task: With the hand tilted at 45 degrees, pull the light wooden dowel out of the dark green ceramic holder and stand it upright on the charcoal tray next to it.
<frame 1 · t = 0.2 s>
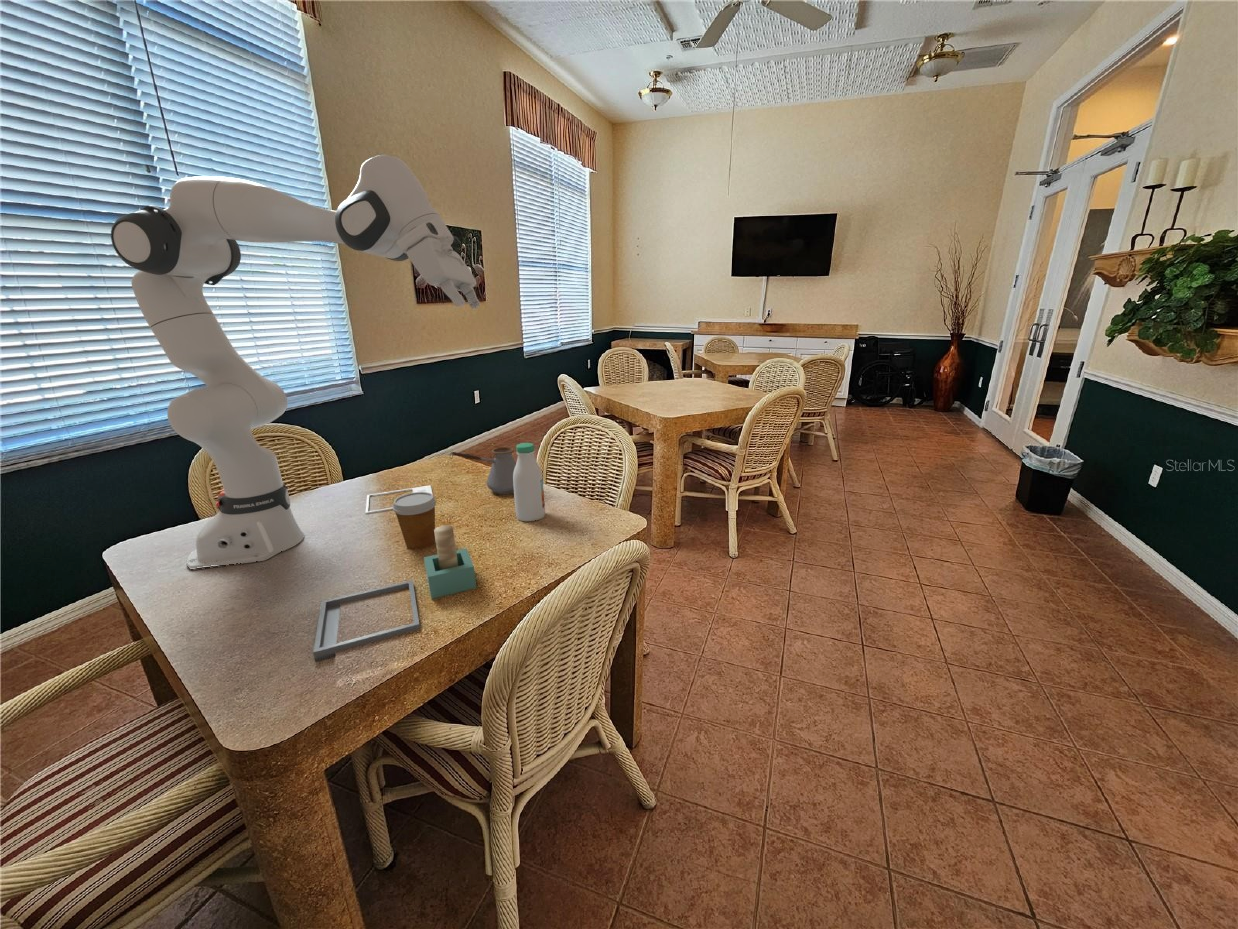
hand: (469, 306, 98), 54 cm above the table, tool tilted 30°, fingers open, 8 cm apart
photo frame: (400, 501, 145), on the table
wooden dowel: (451, 582, 100), point 1 cm above the table, touching ceramic holder
charcoal tray: (370, 620, 90), on the table
coffee pot: (491, 494, 149), on the table
ceramic holder: (451, 586, 100), on the table
milk bottle: (531, 517, 132), on the table
disposable coffee cup: (421, 546, 117), on the table
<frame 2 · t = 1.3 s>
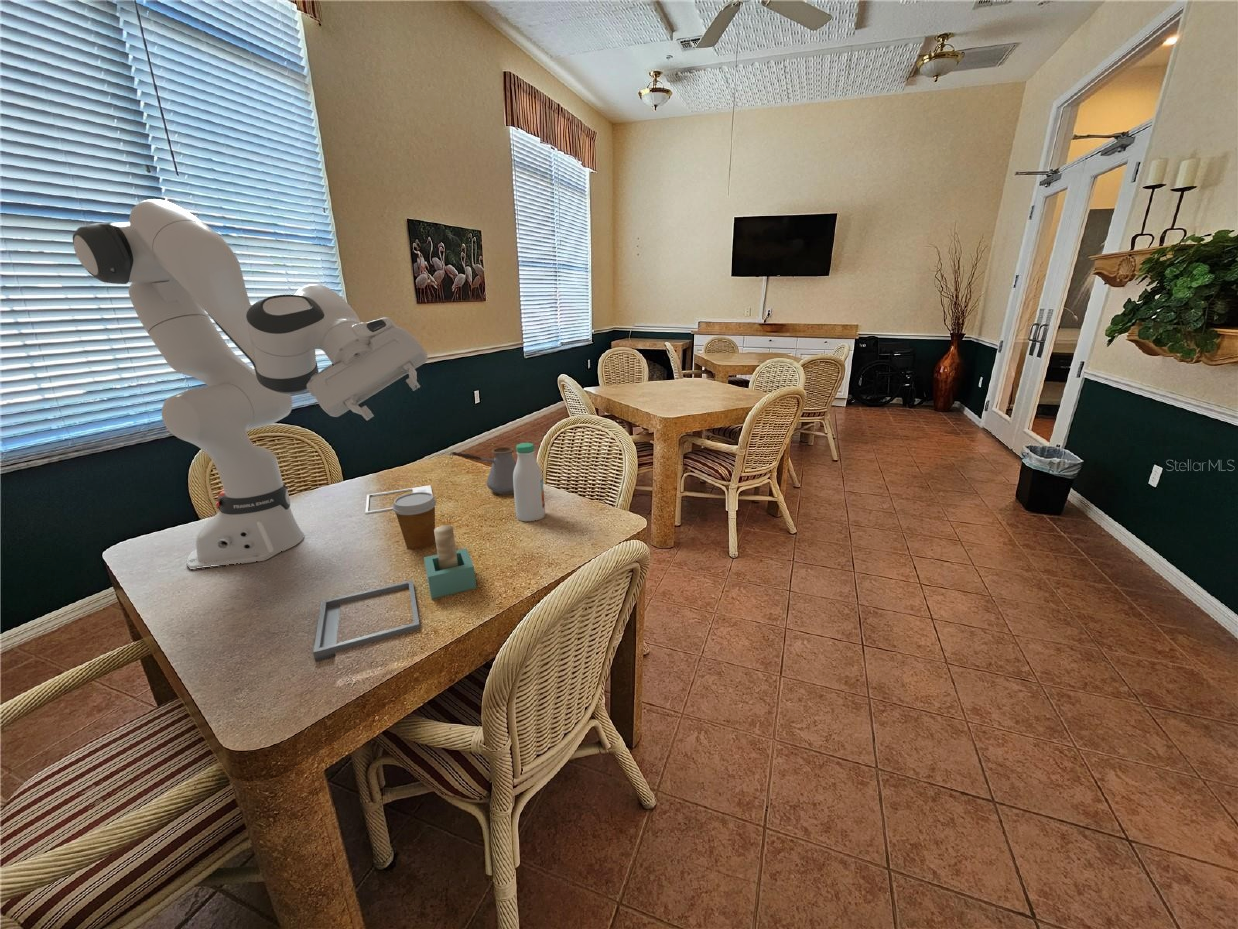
hand: (392, 401, 87), 38 cm above the table, tool tilted 55°, fingers open, 8 cm apart
nothing on the table moved.
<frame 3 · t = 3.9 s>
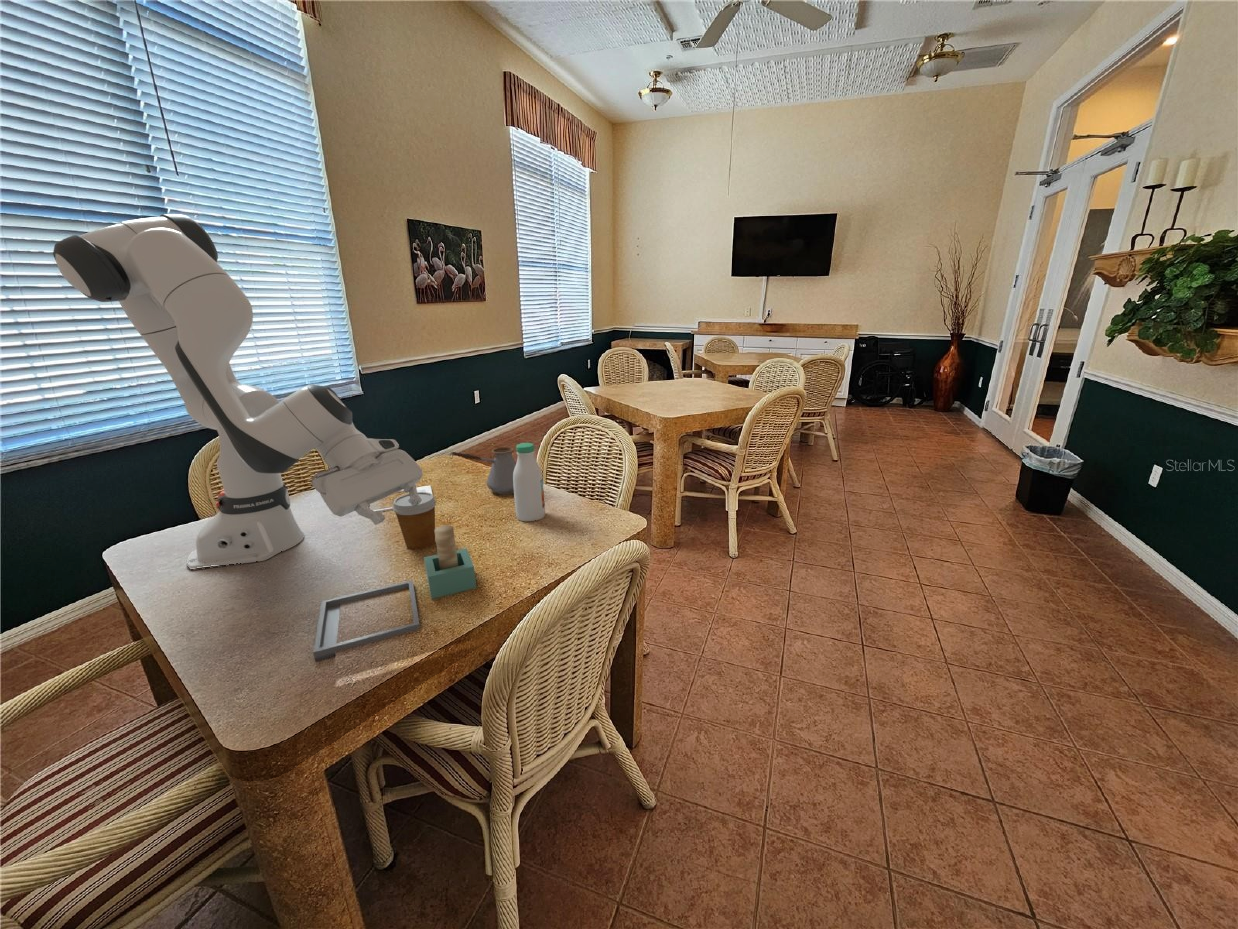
hand: (400, 512, 97), 16 cm above the table, tool tilted 45°, fingers open, 8 cm apart
nothing on the table moved.
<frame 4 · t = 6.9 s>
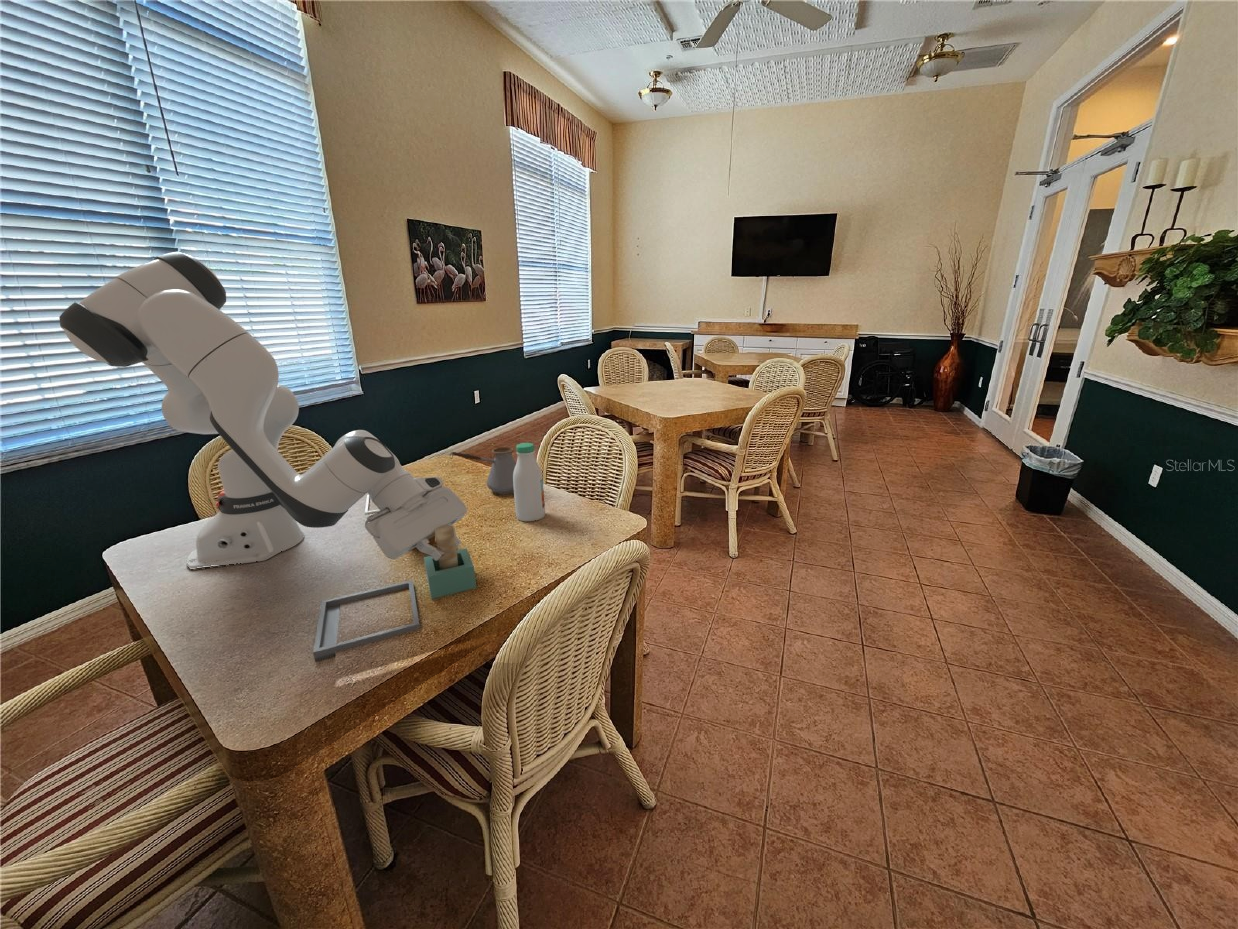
hand: (449, 551, 97), 8 cm above the table, tool tilted 45°, fingers closed on wooden dowel, 3 cm apart
wooden dowel: (451, 582, 100), point 1 cm above the table, touching ceramic holder, gripper
everything else where it was.
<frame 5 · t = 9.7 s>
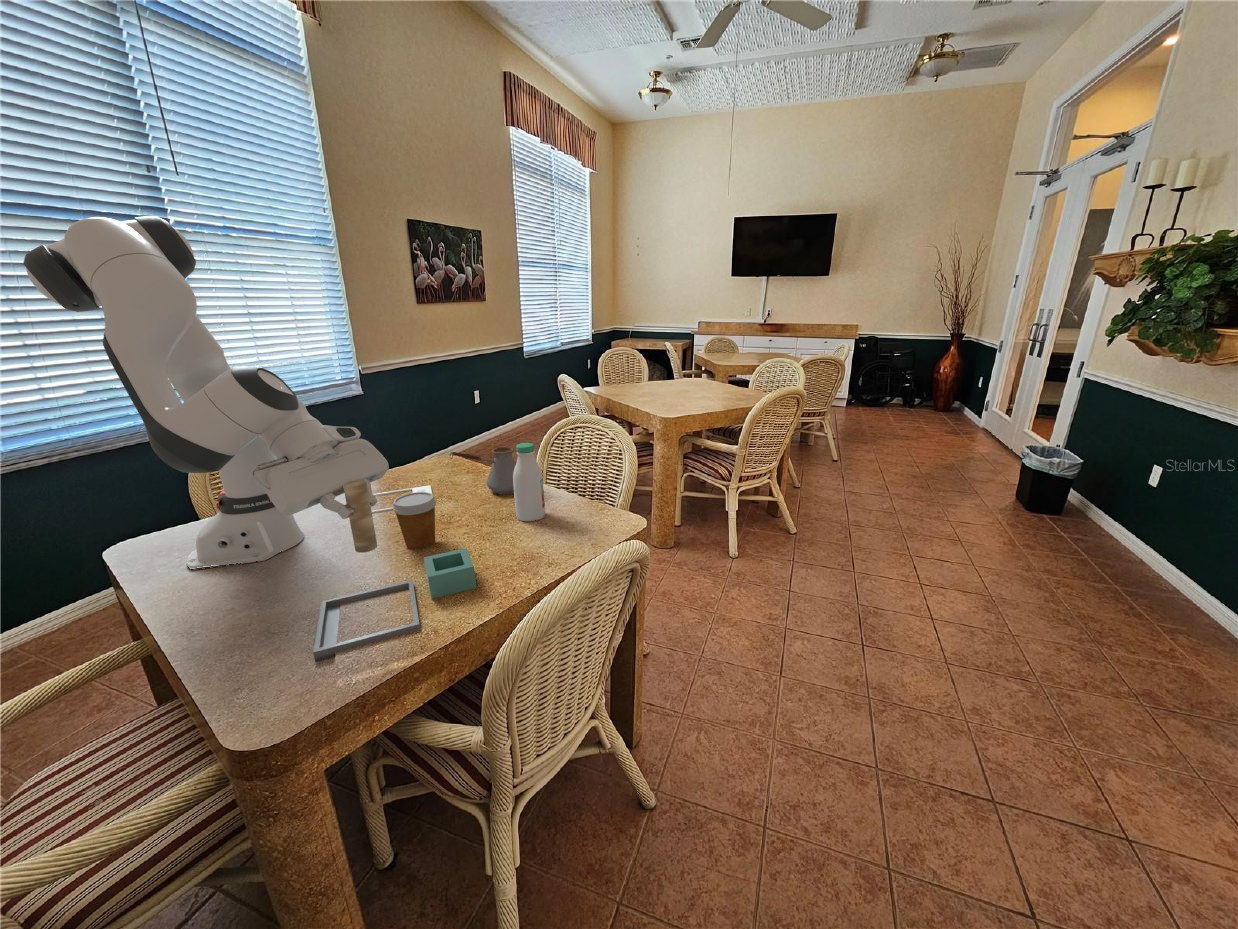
hand: (361, 510, 84), 21 cm above the table, tool tilted 45°, fingers closed on wooden dowel, 3 cm apart
wooden dowel: (366, 547, 86), point 14 cm above the table, touching gripper
everything else where it was.
when the fingers open (9 cm above the table, at t = 12.5 s): wooden dowel drops 1 cm, resting on charcoal tray.
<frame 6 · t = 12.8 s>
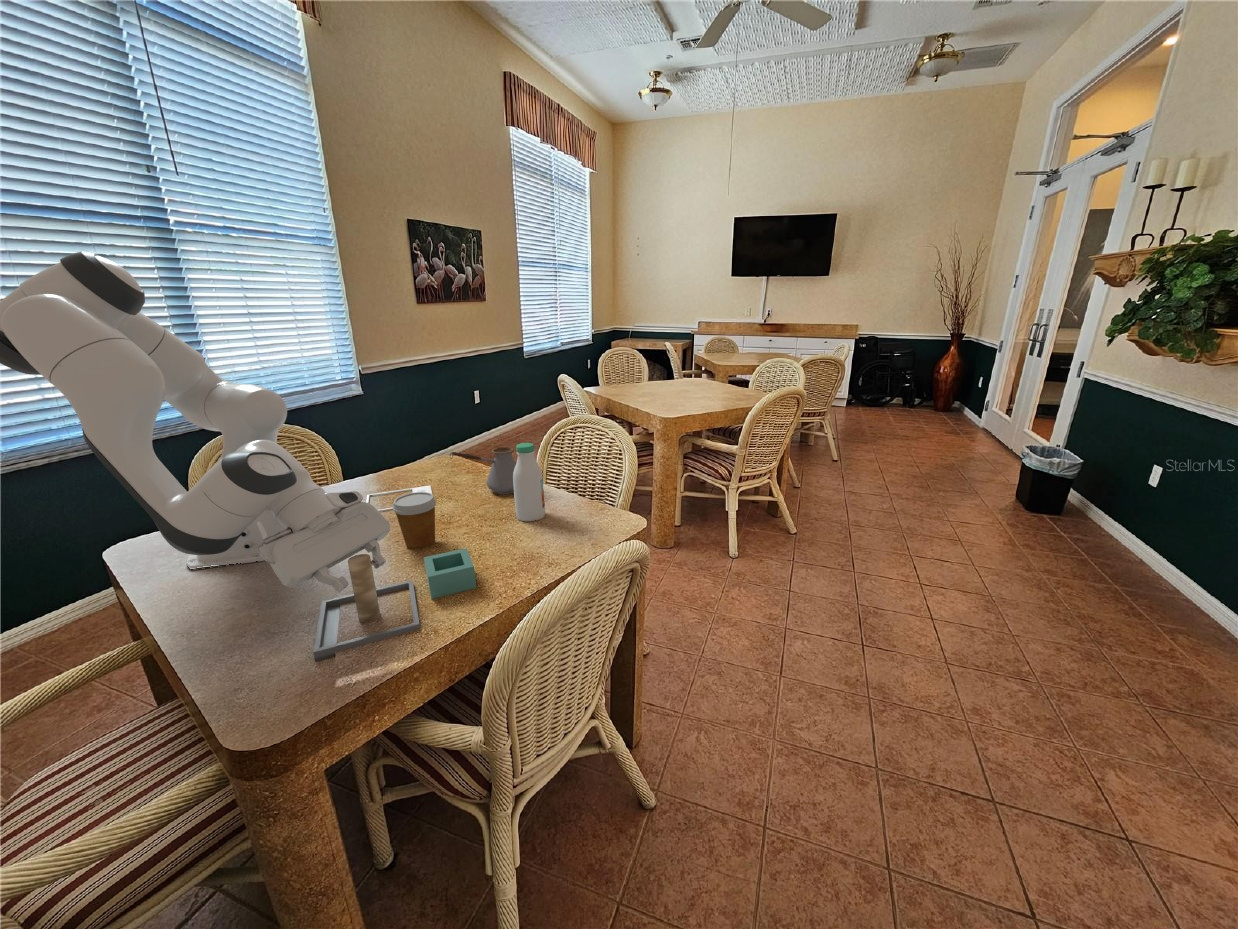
hand: (363, 576, 86), 9 cm above the table, tool tilted 45°, fingers open, 7 cm apart
wooden dowel: (369, 617, 89), point 1 cm above the table, touching charcoal tray
everything else where it was.
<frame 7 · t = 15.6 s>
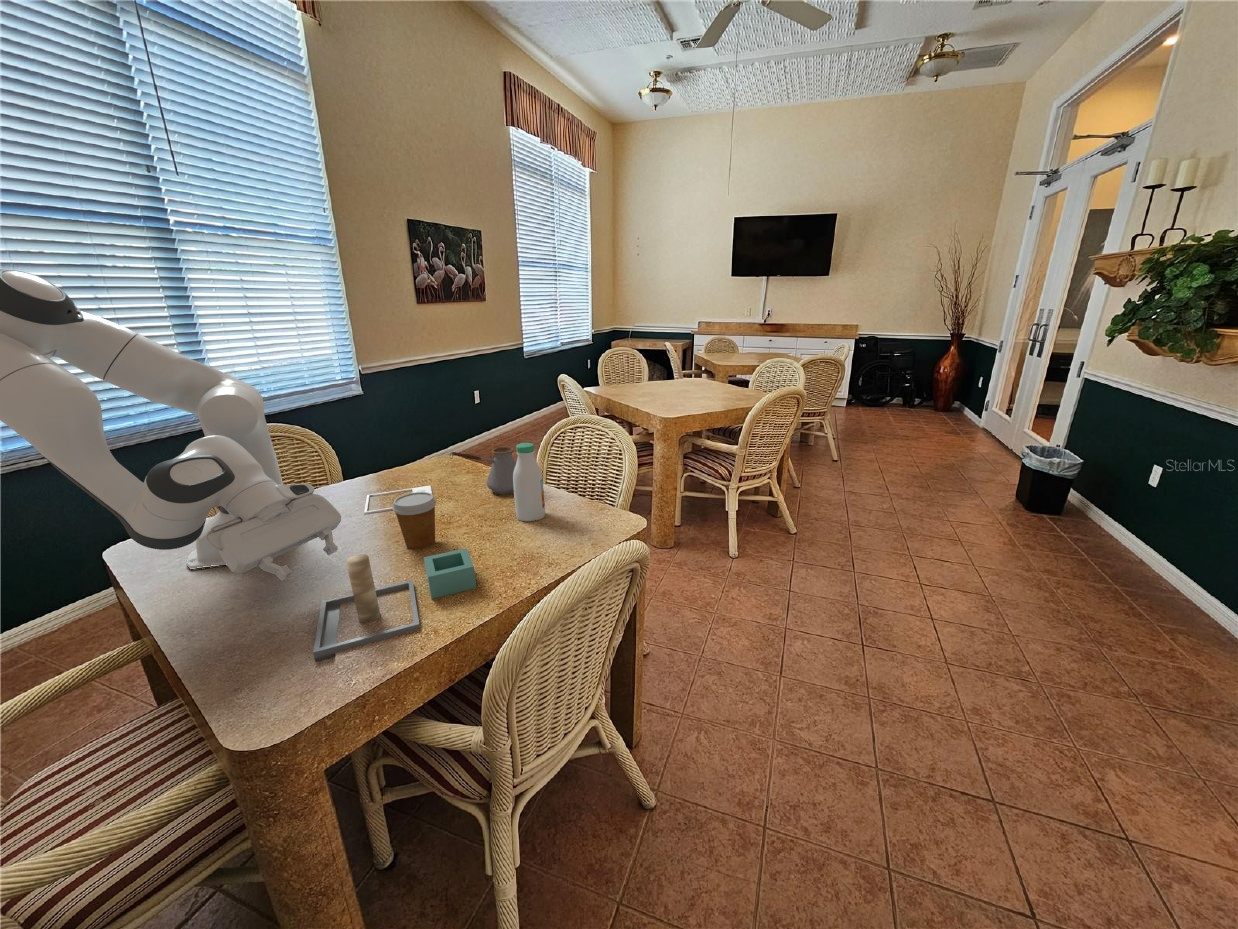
hand: (311, 564, 91), 9 cm above the table, tool tilted 45°, fingers open, 8 cm apart
nothing on the table moved.
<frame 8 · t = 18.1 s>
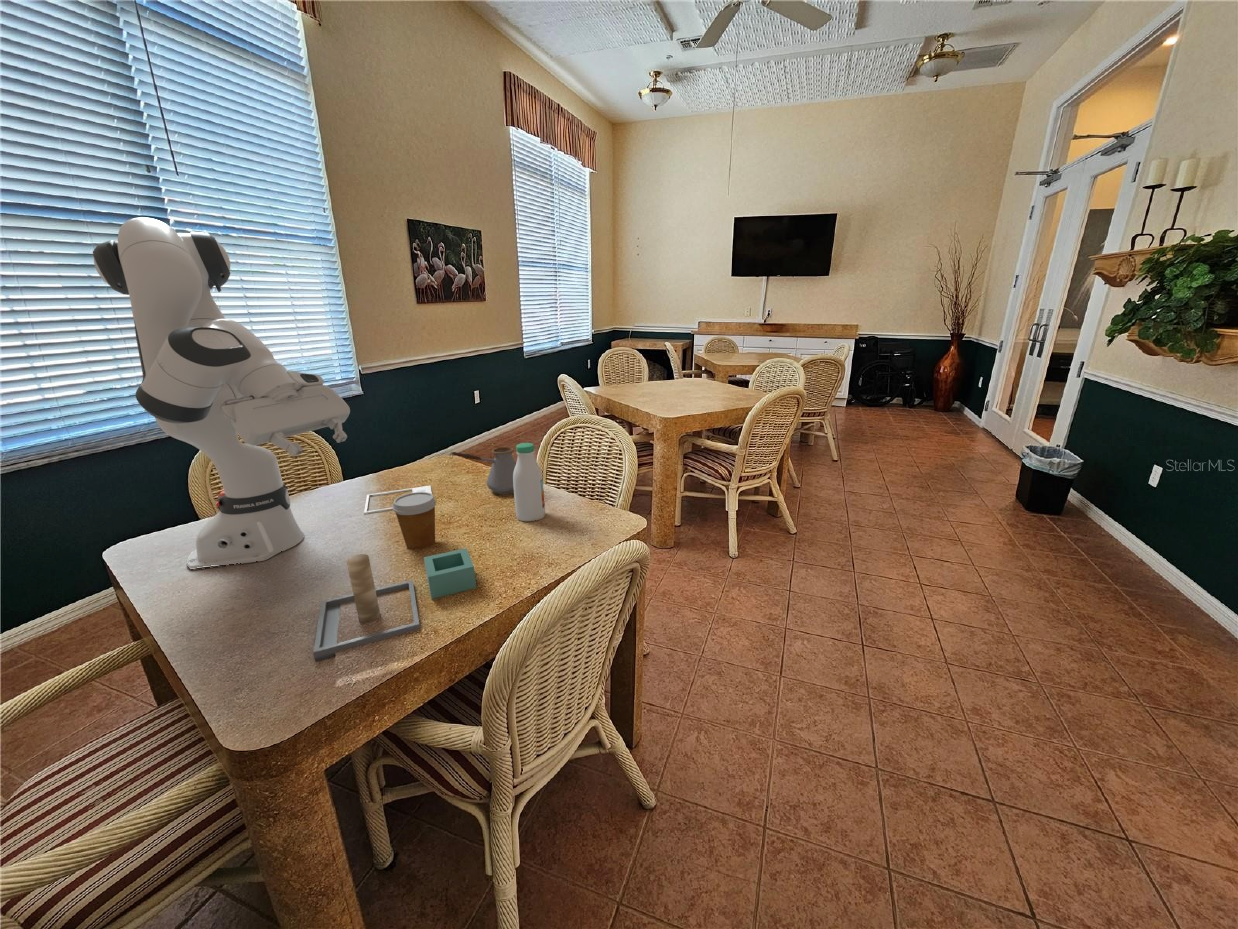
hand: (321, 446, 93), 29 cm above the table, tool tilted 45°, fingers open, 8 cm apart
nothing on the table moved.
at the end: wooden dowel inside the target area on the charcoal tray (0.0 cm from its centre), point 0.6 cm above the charcoal tray's base; wooden dowel tilted 0°; the gripper is holding nothing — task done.
